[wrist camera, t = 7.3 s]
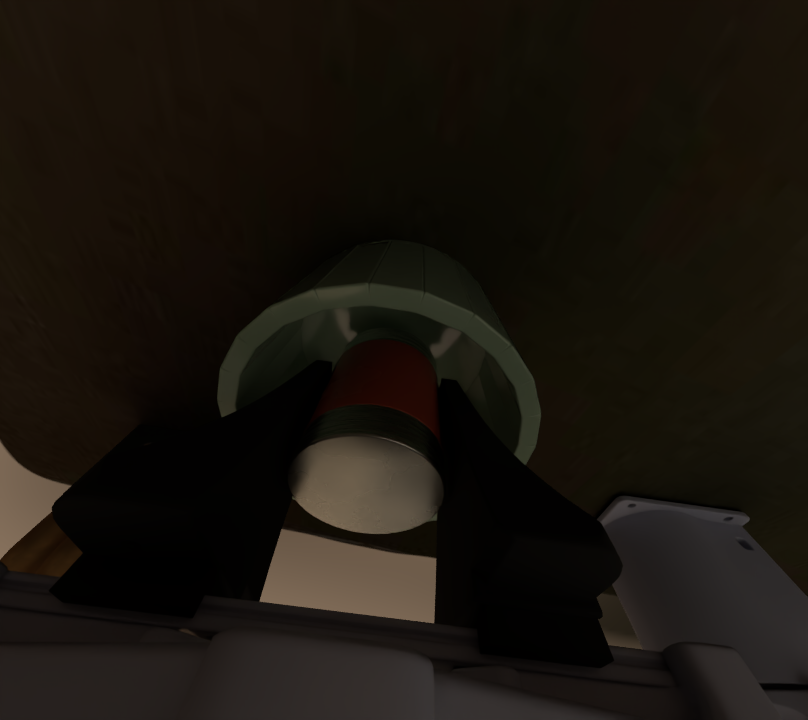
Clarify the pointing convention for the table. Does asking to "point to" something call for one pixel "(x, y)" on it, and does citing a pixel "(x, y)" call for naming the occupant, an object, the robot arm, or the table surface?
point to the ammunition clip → (47, 542)
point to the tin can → (374, 438)
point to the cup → (395, 308)
